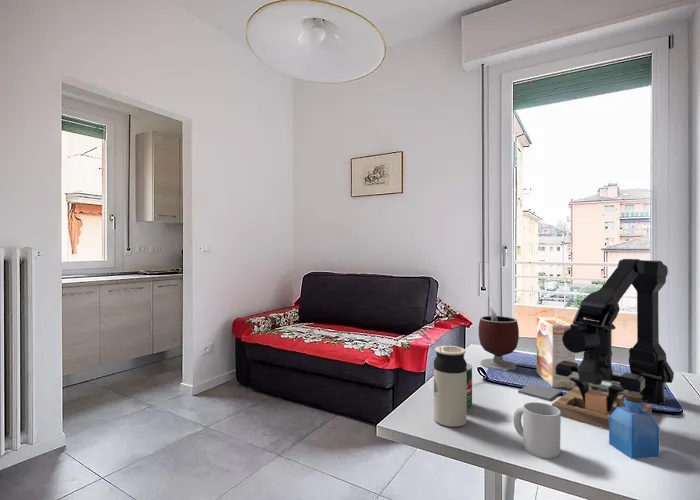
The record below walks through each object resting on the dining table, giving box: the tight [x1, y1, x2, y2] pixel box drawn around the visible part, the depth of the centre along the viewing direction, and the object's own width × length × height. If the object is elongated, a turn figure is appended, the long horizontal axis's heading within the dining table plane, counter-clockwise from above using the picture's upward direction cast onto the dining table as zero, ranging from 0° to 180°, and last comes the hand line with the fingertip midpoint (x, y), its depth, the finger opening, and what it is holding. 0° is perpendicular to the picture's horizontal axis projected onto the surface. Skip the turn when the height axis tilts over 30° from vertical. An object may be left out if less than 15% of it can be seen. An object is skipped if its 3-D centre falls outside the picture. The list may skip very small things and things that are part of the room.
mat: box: [517, 383, 562, 402], centre depth 118 cm, size 9×9×1 cm
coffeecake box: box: [536, 316, 576, 389], centre depth 129 cm, size 15×7×20 cm, turn 172°
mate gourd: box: [478, 307, 520, 370], centre depth 146 cm, size 16×14×20 cm
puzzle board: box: [551, 385, 653, 431], centre depth 103 cm, size 19×18×5 cm
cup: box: [513, 401, 561, 459], centre depth 86 cm, size 7×10×9 cm
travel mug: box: [433, 345, 468, 428], centre depth 99 cm, size 8×8×18 cm
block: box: [585, 389, 610, 416], centre depth 101 cm, size 4×4×5 cm
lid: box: [589, 371, 628, 394], centre depth 109 cm, size 8×8×4 cm
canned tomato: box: [467, 363, 473, 411], centre depth 109 cm, size 8×8×11 cm
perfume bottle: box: [608, 391, 660, 460], centre depth 85 cm, size 6×6×12 cm
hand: (597, 408), depth 101 cm, fingers closed on block, 4 cm apart
